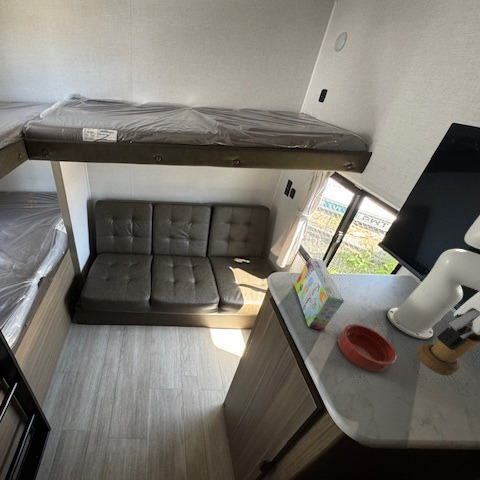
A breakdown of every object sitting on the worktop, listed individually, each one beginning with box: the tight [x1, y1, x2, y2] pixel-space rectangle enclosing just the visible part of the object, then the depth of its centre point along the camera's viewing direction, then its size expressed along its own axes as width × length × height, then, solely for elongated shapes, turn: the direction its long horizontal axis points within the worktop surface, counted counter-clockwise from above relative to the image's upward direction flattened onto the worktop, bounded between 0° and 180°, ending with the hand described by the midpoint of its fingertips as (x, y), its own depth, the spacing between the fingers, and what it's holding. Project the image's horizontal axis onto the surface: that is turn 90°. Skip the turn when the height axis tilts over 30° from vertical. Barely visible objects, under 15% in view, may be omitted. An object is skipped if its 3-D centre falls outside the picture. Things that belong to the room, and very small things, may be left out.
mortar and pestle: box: [415, 322, 480, 377], centre depth 54 cm, size 7×6×18 cm
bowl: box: [337, 323, 397, 373], centre depth 79 cm, size 13×13×5 cm
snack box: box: [294, 257, 345, 331], centre depth 91 cm, size 21×6×15 cm, turn 168°
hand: (453, 341), depth 55 cm, fingers closed on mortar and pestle, 3 cm apart
